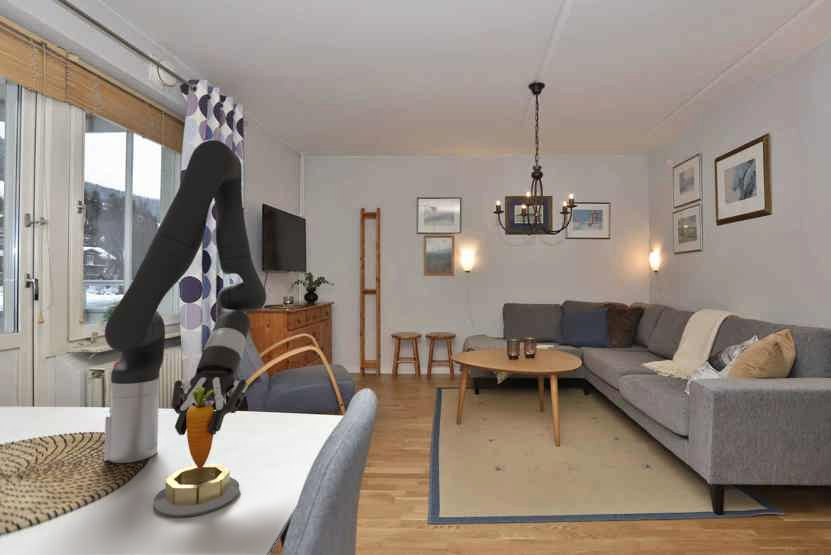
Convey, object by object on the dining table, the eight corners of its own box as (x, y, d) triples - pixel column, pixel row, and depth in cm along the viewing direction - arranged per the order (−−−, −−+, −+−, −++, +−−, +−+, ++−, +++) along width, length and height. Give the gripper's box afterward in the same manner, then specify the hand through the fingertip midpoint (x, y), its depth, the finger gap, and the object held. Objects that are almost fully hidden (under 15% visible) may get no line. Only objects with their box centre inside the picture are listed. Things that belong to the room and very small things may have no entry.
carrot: (192, 462, 82) (192, 383, 82) (219, 461, 83) (219, 383, 83) (180, 474, 77) (180, 390, 77) (209, 473, 78) (209, 389, 78)
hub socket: (136, 518, 72) (136, 494, 72) (177, 480, 86) (178, 460, 86) (221, 517, 73) (222, 493, 73) (249, 479, 87) (249, 459, 87)
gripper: (181, 344, 87) (146, 423, 75) (253, 343, 88) (231, 422, 76) (193, 365, 92) (162, 443, 80) (261, 365, 93) (241, 441, 81)
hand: (196, 432), depth 78 cm, fingers closed on carrot, 5 cm apart
